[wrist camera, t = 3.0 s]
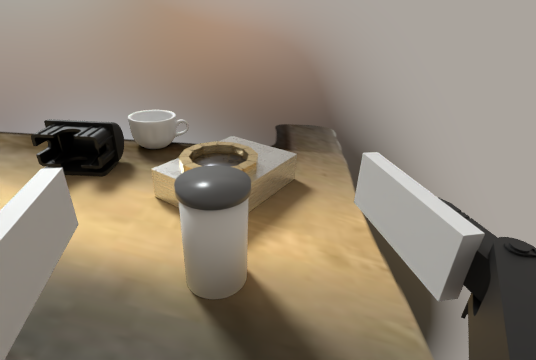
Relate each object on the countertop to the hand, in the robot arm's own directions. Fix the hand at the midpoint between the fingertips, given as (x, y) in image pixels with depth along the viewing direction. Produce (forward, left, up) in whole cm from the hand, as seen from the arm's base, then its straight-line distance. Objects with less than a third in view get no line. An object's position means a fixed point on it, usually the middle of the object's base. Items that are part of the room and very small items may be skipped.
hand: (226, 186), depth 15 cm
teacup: (+26, +37, -15) cm, 48 cm away
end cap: (+13, +39, -15) cm, 44 cm away
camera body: (+21, +17, -15) cm, 31 cm away
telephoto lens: (+7, +7, -15) cm, 18 cm away
